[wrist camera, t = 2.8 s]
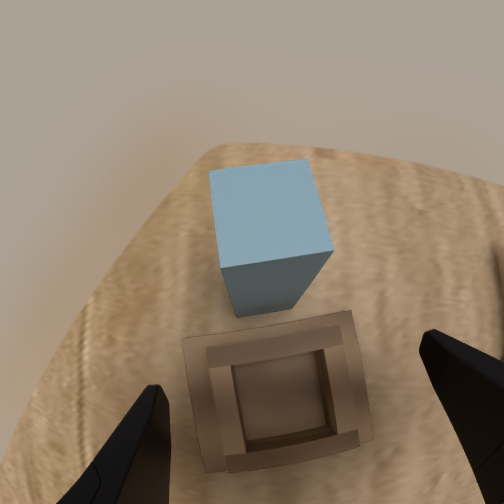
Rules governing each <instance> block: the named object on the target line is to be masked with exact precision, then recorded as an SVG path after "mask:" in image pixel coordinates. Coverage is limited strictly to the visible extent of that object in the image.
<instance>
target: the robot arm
mask: <svg viewBox="0 0 504 504" xmlns="http://www.w3.org/2000/svg"><path fill="white" fill-rule="evenodd" d="M419 353H420V356H421V359H422V361H423V364H424V366H425V368H426V371H427V373H428V376H429V378H430V381H431V383H432V386H433V388H434V390H435V392H436V394H437V396H438V398H439V400H440V402H441V403H442V405H443V407H444V409H445V411H446V413H447V415H448V417H449V419H450V422H451V424H452V426H453V428H454V430H455V432H456V434H457V436H458V438H459V441H460V443H461V445H462V447H463V449H464V452H465V454H466V456H467V458H468V461H469V463H470V465H471V468H472V470H473V472H474V475H475V478H476V480H477V483H478V485H479V488H480V490H481V493H482V496H483V498H484V501H485V504H504V362H502V361H500V360H498V359H496V358H494V357H492V356H490V355H488V354H486V353H484V352H482V351H480V350H478V349H475V348H473V347H471V346H469V345H467V344H465V343H463V342H461V341H459V340H457V339H455V338H453V337H451V336H448V335H446V334H444V333H442V332H440V331H438V330H436V329H432V330H429V331H426V332H425V333H424V334H423V337H422V341H421V344H420V347H419ZM170 461H171V433H170V414H169V402H168V399H167V397H166V395H165V393H164V391H163V389H162V387H161V386H160V385H158V384H156V385H148V386H147V387H146V388H145V389H144V391H143V392H142V393H141V395H140V396H139V397H138V399H137V400H136V401H135V403H134V404H133V406H132V407H131V408H130V410H129V411H128V412H127V414H126V415H125V417H124V418H123V419H122V421H121V422H120V423H119V425H118V426H117V428H116V429H115V430H114V432H113V433H112V434H111V436H110V437H109V439H108V440H107V441H106V443H105V444H104V445H103V447H102V448H101V450H100V451H99V452H98V454H97V455H96V456H95V458H94V459H93V461H92V462H91V463H90V465H89V466H88V467H87V469H86V470H85V471H84V473H83V474H82V475H81V476H80V478H79V479H78V480H77V481H76V483H75V484H74V485H73V486H72V487H71V488H70V489H69V490H68V492H67V493H66V494H65V495H64V496H63V497H62V498H61V499H60V500H59V501H58V502H57V503H56V504H169V484H170Z"/></svg>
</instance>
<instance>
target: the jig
mask: <svg viewBox="0 0 504 504" xmlns="http://www.w3.org/2000/svg"><path fill="white" fill-rule="evenodd" d="M182 343H183V351H184V358H185V365H186V372H187V378H188V385H189V391H190V397H191V403H192V408H193V414H194V419H195V425H196V430H197V435H198V440H199V445H200V450H201V454H202V459H203V464H204V468H205V472H206V473H211V472H224V471H228V473H234V472H243V471H251V470H258V469H265V468H271V467H277V466H283V465H288V464H293V463H298V462H303V461H307V460H312V459H316V458H320V457H324V456H328V455H332V454H336V453H339V452H343V451H346V450H350V449H353V448H356V447H359V446H360V444H362V443H366V442H369V441H372V440H373V432H372V424H371V417H370V410H369V403H368V397H367V390H366V384H365V378H364V373H363V367H362V361H361V356H360V351H359V346H358V341H357V336H356V331H355V326H354V321H353V317H352V312H351V310H348V311H344V312H339V313H335V314H330V315H325V316H320V317H315V318H310V319H305V320H300V321H295V322H289V323H284V324H278V325H272V326H266V327H260V328H254V329H248V330H242V331H235V332H228V333H221V334H214V335H207V336H199V337H191V338H183V339H182Z"/></svg>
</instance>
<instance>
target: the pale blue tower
mask: <svg viewBox="0 0 504 504" xmlns="http://www.w3.org/2000/svg"><path fill="white" fill-rule="evenodd" d="M209 179H210V188H211V197H212V205H213V214H214V222H215V230H216V238H217V245H218V253H219V260H220V268H221V271H222V274H223V277H224V280H225V283H226V286H227V289H228V292H229V295H230V298H231V301H232V304H233V307H234V310H235V313H236V316H237V318H239V317H245V316H251V315H257V314H264V313H270V312H275V311H281V310H287V309H292V308H293V307H294V305H295V304H296V303H297V301H298V300H299V299H300V297H301V296H302V295H303V293H304V292H305V290H306V289H307V288H308V286H309V285H310V284H311V282H312V281H313V279H314V278H315V277H316V275H317V274H318V273H319V271H320V270H321V268H322V267H323V266H324V264H325V263H326V261H327V260H328V258H329V257H330V256H331V254H332V253H333V251H334V247H333V243H332V240H331V236H330V232H329V229H328V225H327V222H326V218H325V215H324V211H323V208H322V204H321V201H320V198H319V194H318V191H317V188H316V184H315V181H314V178H313V175H312V172H311V169H310V165H309V162H308V159H302V160H292V161H282V162H273V163H265V164H257V165H249V166H241V167H234V168H227V169H220V170H214V171H209Z"/></svg>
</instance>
